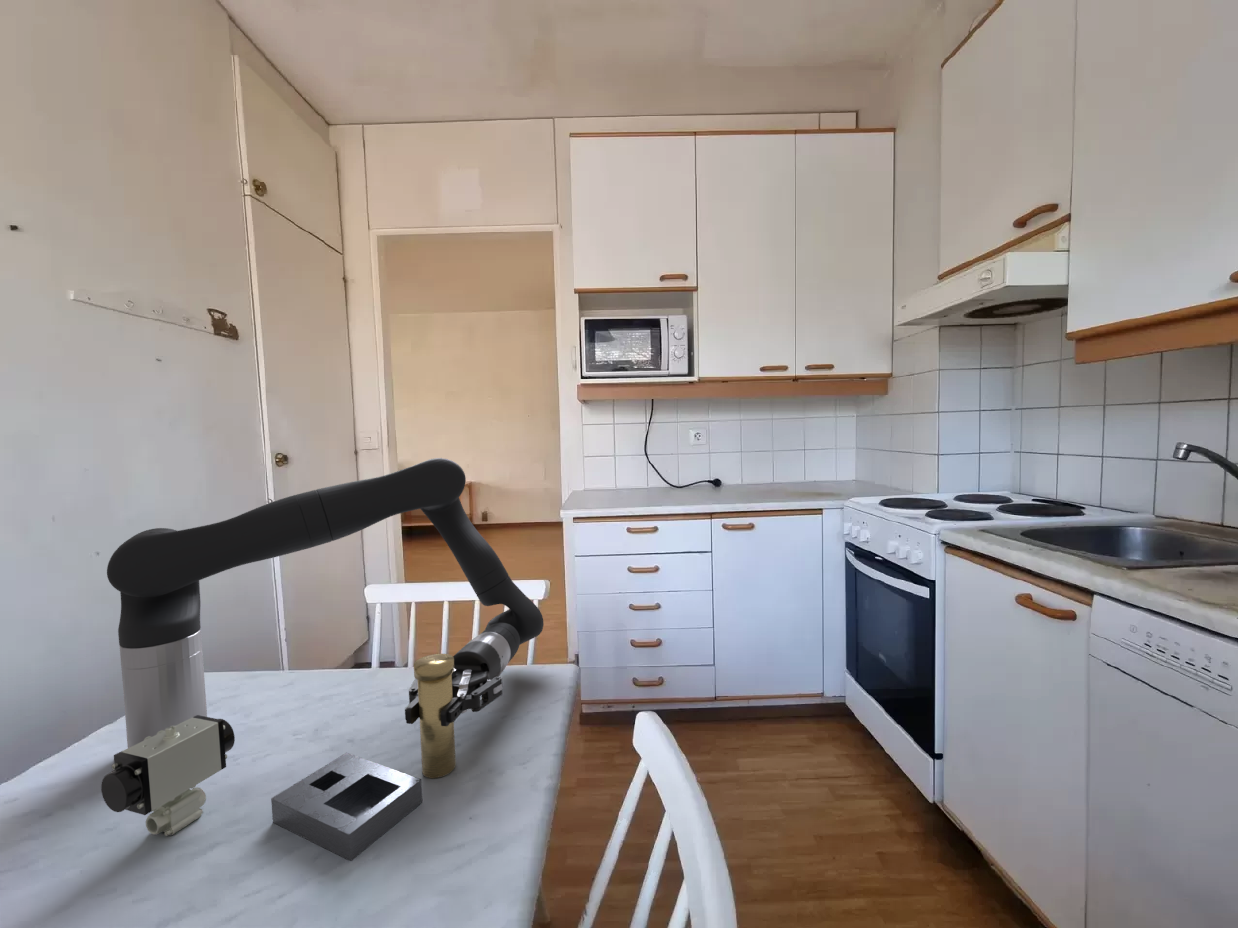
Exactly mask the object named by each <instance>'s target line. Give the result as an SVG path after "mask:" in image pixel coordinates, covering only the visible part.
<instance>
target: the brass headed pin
mask: <svg viewBox="0 0 1238 928" xmlns="http://www.w3.org/2000/svg"><path fill="white" fill-rule="evenodd" d="M453 656H454V655H451V654H449V653H433V654H429V655H425V656H423V657H420V658H419V659H417V660H415V662H414V663H413V677H414V680H415V679H417V680H418V698H419V718H418V719H419V730H420V731H419V732H420V737H419V738H420V755H421V772H422V775H423V776H424V777H425V778H430V779H437V778H441V777H445V776H447V775H449V774H451V772H453V771H454V769H455V768H456V767H457V766H456V765H457V761H456V744H455V743H456V742H455V741H456V740H455V721H454V722H452V723H450V724H449V725H448V726H441V711H442V709H443V708H444V707H445V706H446V705H447V704H448V703H449V702H450V701H451V700H452V699H453V693H452V673H453V672H454V657H453Z"/></svg>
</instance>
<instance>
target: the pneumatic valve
mask: <svg viewBox="0 0 1238 928" xmlns="http://www.w3.org/2000/svg"><path fill="white" fill-rule="evenodd" d="M235 738H236V737H235V731H234V729H233V727H232V725H231V724H230V723H229V722H228V721H227V720H225V719H223V718H214V717H209V716H207V717H205V716H200V715H197V716H194V717H192V718H190V719H188V720H186V721H184V722H182V723H180V724H178V725H176V726H174V725H173V726H170V728H166V729H165V731H163V730H161V731H159V732H158V733H157V735H155V736H153V737H151V736H148V737H146V738H145V739H144V741H142V742H140V743H138V744H136V745H134V746H132V747H130V748H128V747H127V748H126V749H125V748H124V749H123V750H121V751H120V752H117V753H115V754H113V762H114V763H113V764H112V765H111V769H112V771H111V772H109V773H107V774H106V775H104V777H103V778H102V781H101V786H100V788H101V795H102V798H103V801H104V803H105V804H106V806H107V807H108V809H110V810H112V812H115V813H121V812H123V811H129V812H132V813H136V814H139V815H143V816H146V815H148V814H149V815H148V816H147V817H146V819H145V826H146V827H145V828H146V830H147V831H148V832H149V834H151V835H153V836H154V835H160V834H161V833H163V834H164V836H165V837H168V836H173V835H175V834H176V833H178V832H179V831H181V830H183V829H184V828H186V827H188V826H189V825H190V824H191V823H193V822H195V821H196V820H197V819H200V818H201V817H202V814H203V813H204V810H203V809H202V807H204V805H205V803H206V801H207V796H206V793H205V791H204V789H202V788H201V787H197V785H199V784H201V783H202V782H204V781H205V780H207V779H209V778H210V777H212V776H214V775H215V774H217V773H219V772H220V771H222V770H224V769H225V768H227V758H228V754H226V753H228V752H230V751H231V750H232V749H233V747H234V745H235V740H236V739H235Z"/></svg>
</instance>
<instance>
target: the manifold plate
mask: <svg viewBox="0 0 1238 928" xmlns="http://www.w3.org/2000/svg"><path fill="white" fill-rule="evenodd" d="M422 791H423V789H422V779H421V778H418V777H417V776H416V777H415V776H414V775H409V774H408V773H404V772H401V771H399V770H396V769H393V768H390V767H389V766H385V765H383V764H379V763H377V762H374V761H371V760H368V759H366V758H363V757H360V756H357V755H355V754H352V753H349V752H345V753H344V754H342V755H340V756H339V757H336V758H335V759H333V760H332V761H330V762H329V763H327V764H325V765H324V766H323V767H321V768H319V769H317V770H316V771H314V772H312V773H311V774H308V775H307V776H306V777H304V778H303V779H301V780H299V781H297V782H296V783H294V784H293V785H290V786H289V787H288V788H286V789H285V790H283V791H281V792H279V793H278V794H276V795H274V796H273V797H271V798H270V799H271V812H272V813H271V815H272V823H273V824H275V825H277V826H279V827H281V828H282V829H285V830H287V831H289V832H291V833H293V834H295V835H298V836H299V837H301V838H302V839H304V840H308V841H310V842H311V843H313V844H316V845H318V846H319V847H321V848H323V849H325V850H328V851H329V852H331V853H334V854H335V855H336V856H337V855H338V856H340V857H342V858H344V859H345V860H348V861H350V862H351V861H353V859H355V858H356V857H357V856H359V854H361V853H362V852H364V851H365V850H366V849H367V848H368V847H370V846H371V845H372V844H373V843H375V842H376V841H377V840H378V839H379V838H381V837H382V836H383V835H384V834H385V833H387V832H388V831H389V830H390V829H392V828H393V827H395V826H396V825H397V824H398V823H399V822H400V821H401V820H403V819H404V818H406V817H407V815H409V814H410V813H411V812H412V811H414V810H415V809H417V807H419V806H420V805H421V804H422V803H423V793H422Z"/></svg>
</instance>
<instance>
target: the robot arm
mask: <svg viewBox="0 0 1238 928" xmlns="http://www.w3.org/2000/svg"><path fill="white" fill-rule="evenodd" d="M466 478H467V477H466V473H465V471H464V469H463V468H462V467H461V466H460V464H458V463H457V462H455V461H454V460H452V459H448V458H442V457H435V458H430V459H427V460H425V461H421V462H419V463H417V464H413V465H411V466H408V467H406V468H403V469H400V470H398V471H397V470H396V471H395V472H391V473H388V474H385V475H381V476H377V477H371V478H366V479H360V480H359V479H358V480H355V481H350V482H345V483H339V484H335V485H330V486H326V487H322V488H317V489H313V490H308V491H306V492H302V493H297V494H293V495H290V496H287V497H283V498H280V499H277V500H274V501H272V502H269V503H265V504H263V505H261V506H258V507H256V508H254V509H253V508H252V509H250V510H249V511H246V512H244V513H241V514H239V515H237V516H233V517H231V518H228V519H225V520H222V521H217V522H215V523H211V524H207V525H205V524H204V525H201V526H200V525H199V526H197V527H196V526H195V527H191V528H186V529H180V530H177V529H173V528H166V527H159V528H158V527H156V528H151V529H147V530H144V531H140V532H138V533H136V534H135V535H133V536H131V537H130V538H129V539H127V540H125V541H124V542H123V543H121V544H120V545H119V546H118V547H117V548H116V549H115V551H114V552H113V553H112V555H111V557H110V558H109V561H108V563H107V567H106V577H107V579H108V582H109V583H110V584H111V586H112V587H113V588H114V589H115V590H117V591H118V592H120V616H119V623H118V629H117V633H118V646H119V656H120V658H119V659H120V666H121V679H122V680H121V681H122V691H123V693H122V694H123V706H124V716H125V717H124V718H125V728H126V729H125V730H126V744H127V749H128V748H130V747H132V746H134V745H136V744H138V743H140V742H142V741H144V739H145V738H146V737H148V736H151V737H153V736H155V735H157V733H158V732H159V731H161V730H163V731H165V729H166V728H170V726H173V725H174V726H176V725H178V724H180V723H182V722H184V721H186V720H188V719H190V718H192V717H194V716H197V715H200V716H205V717H208V708H207V694H206V681H205V669H204V665H205V664H204V655H203V641H202V630H201V628H202V627H201V590H200V589H201V588H200V581H201V580H204V579H207V578H210V577H211V576H214V575H216V574H217V575H218V574H219V573H222V572H225V571H228V570H230V569H234V568H236V567H240V566H243V565H247V564H252V563H256V562H261V561H264V560H269V559H274V558H277V557H281V556H284V555H285V556H286V555H289V554H292V553H296V552H300V551H303V550H304V551H305V550H307V549H311V548H314V547H319V546H321V545H324V544H327V543H331V542H334V541H337V540H339V539H340V540H341V539H342V538H345V537H348V536H351V535H353V534H355V533H357V532H359V531H362V530H365V529H366V528H369V527H371V526H373V525H375V524H377V523H379V522H381V521H383V520H386V519H387V518H390V517H393V516H397V515H400V514H403V513H407V512H411V511H412V512H413V511H416V510H421V511H422V513H423V514H424V515H425V516H426V518H428V519H429V521H430V522H431V523H432V525H433V526H434V528H436V530H437V531H438V534H440V536H441V537H442V539H443V541H445V544H446V545H447V546H448V548H449V550H450V551H451V553H452V554H453V557H454V558H455V560H456V562H457V563H458V565H459V566H460V569H461V570H462V573H463V574H464V575H465V577H466V579H467V582H469V585H470V586H471V588H472V590H473V592H474V594H475V595H476V597H477V599H478V600H479V602H480V603H481V605H483V606H484V607H491V606H496V605H502V606H505V607H506V608H508V609H506V610H505V611H503V612H501V613H500V614H497V615H495V616H494V617H493V618H491V619H490V620H489V621H488V622H487V625H486V627H485V629H484V630H483V631H482V632H481V633H480V634H479V635H477V636H475V637H473V638H472V639H471V640H470V641H469V642H467V643H466V644H465V645H464V646H462V648H461V649H460V650H458V652H456V653H455V654H454V655H452V656H453V657H454V672H453V673H452V693H453V699H452V700H451V701H450V702H449V703H448V704H447V705H446V706H445V707H444V708H443V709H442V711H441V726H448V725H449V724H450V723H452V722H454V723H455V721H456V720H457V719H458V718H459V716H461V714H465V713H467V711H468V710H471V712H474V713H477V712H479V711H481V710H482V709H484V708H485V707H486V706H487V707H488V705H490V704H491V703H492V702H494V701H496V700H497V699H498V698H499V697H501V696H502V695H503V682H502V681H503V680H502V679H503V678H502V676H501V674H502V673H503V672H504V670H505V669H506V668H507V666H508V664H509V663H510V662H511V660H512V659H513V658H514V657H515V655H516V654H517V653H518V650H519V649H520V648H519V647H520V645H522V644H524V643H526V642H529V641H530V640H533V639H535V638H536V637H538V636H540V634H541V633H542V632H543V629H544V618H543V617H544V616H543V615H542V611H541V610H540V609H539V607H538V606H537V605H536V603H534V602H533V601H532V600H531V599H530V598H529V597H528V596H527V595H526V594H525V593H524V592H523V591H522V590H521V589H520V588H519V587H518V586H517V585H516V584H515V583H514V581H513V580H512V578H511V577H510V575H509V573H508V572H507V570H506V568H505V565H504V564H503V563H502V561H501V559H500V558H499V555H498V554H497V553H496V551H495V550H494V549H493V547H492V546H491V545H490V544H489V543H488V541H487V540H486V539H485V538H484V537H483V536H482V535H481V533H480V531H478V529H476V527H475V526H474V524H473V523H472V522H471V520H470V518H469V517H468V515H467V513H466V510H465V509H464V507H463V505H462V501H461V500H460V497H461V495H462V494H463V492H464V489H465V487H466V483H467V482H466ZM408 698H409V699H408V700H409V701H408V702H409V703H408V705H406V706H405V707H404V719H405V723H406V725H407V724H409V725H412V724H414V723H416V721H417V720H418V719H420V718H419V698H418V680H417V679H415V678H414V680H413V682H412V684H411V685H410V687H409V689H408Z"/></svg>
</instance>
